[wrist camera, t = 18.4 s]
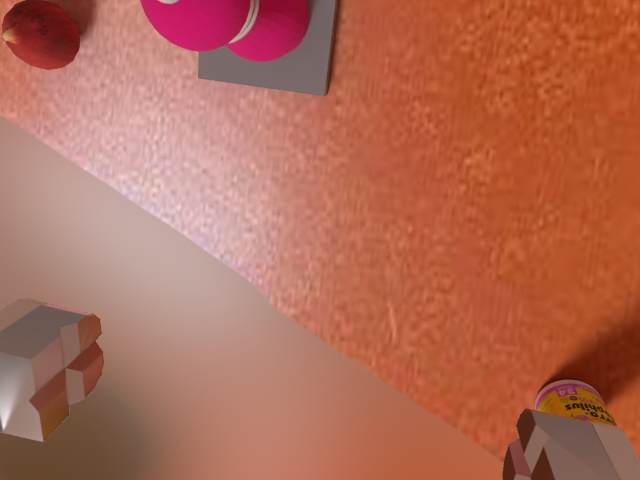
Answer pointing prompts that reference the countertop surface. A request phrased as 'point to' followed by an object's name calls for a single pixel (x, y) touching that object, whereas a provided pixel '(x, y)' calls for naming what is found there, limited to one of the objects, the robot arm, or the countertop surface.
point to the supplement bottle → (573, 402)
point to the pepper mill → (232, 25)
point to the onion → (41, 34)
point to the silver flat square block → (282, 59)
